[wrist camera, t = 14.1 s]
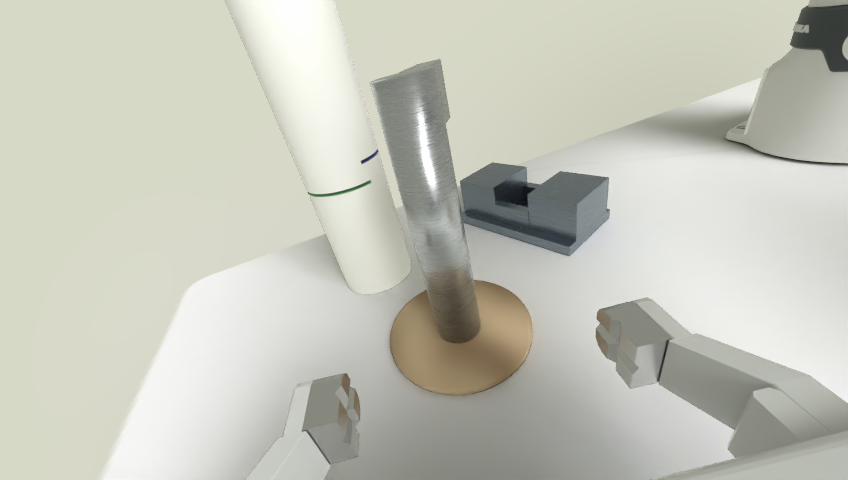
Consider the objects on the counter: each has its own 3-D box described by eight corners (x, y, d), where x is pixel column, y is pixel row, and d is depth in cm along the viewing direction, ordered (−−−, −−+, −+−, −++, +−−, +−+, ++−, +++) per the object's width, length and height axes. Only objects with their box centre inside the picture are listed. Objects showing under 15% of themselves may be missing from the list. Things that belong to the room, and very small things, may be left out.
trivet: (457, 270, 33) (456, 265, 32) (561, 320, 25) (562, 314, 24) (366, 339, 27) (364, 334, 27) (462, 430, 19) (461, 424, 19)
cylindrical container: (423, 257, 36) (348, -28, 23) (385, 300, 31) (263, -30, 18) (374, 249, 40) (286, 0, 27) (333, 286, 35) (203, 5, 22)
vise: (460, 221, 41) (454, 184, 38) (500, 194, 45) (497, 159, 42) (570, 256, 31) (571, 209, 28) (610, 218, 35) (613, 173, 32)
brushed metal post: (478, 344, 24) (426, 72, 15) (433, 342, 25) (358, 87, 16) (487, 278, 30) (454, 55, 21) (450, 279, 31) (403, 67, 22)
